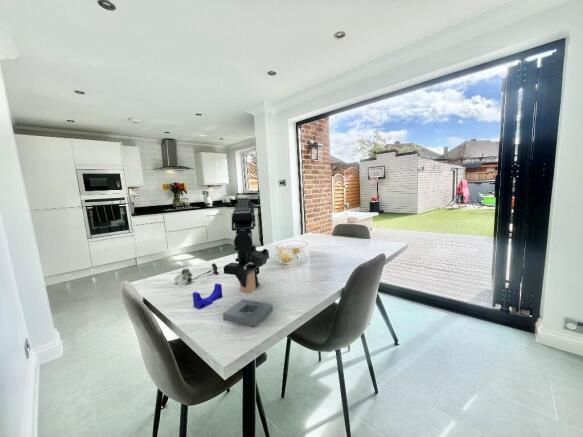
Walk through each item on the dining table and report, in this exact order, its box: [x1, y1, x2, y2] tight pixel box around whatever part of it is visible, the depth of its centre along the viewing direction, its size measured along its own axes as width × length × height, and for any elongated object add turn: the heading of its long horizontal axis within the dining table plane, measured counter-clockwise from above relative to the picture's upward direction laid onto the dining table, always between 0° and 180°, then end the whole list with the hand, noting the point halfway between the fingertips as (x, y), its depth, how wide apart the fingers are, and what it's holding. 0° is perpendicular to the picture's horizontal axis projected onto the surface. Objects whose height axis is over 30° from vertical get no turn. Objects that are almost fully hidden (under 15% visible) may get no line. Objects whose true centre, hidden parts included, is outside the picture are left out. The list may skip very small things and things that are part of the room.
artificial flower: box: [174, 262, 219, 287], centre depth 130 cm, size 9×22×10 cm, turn 129°
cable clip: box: [192, 282, 224, 310], centre depth 102 cm, size 12×4×6 cm, turn 141°
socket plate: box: [222, 298, 274, 328], centre depth 90 cm, size 14×12×2 cm
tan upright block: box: [239, 268, 257, 295], centre depth 89 cm, size 4×4×8 cm
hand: (247, 284), depth 89 cm, fingers closed on tan upright block, 4 cm apart
